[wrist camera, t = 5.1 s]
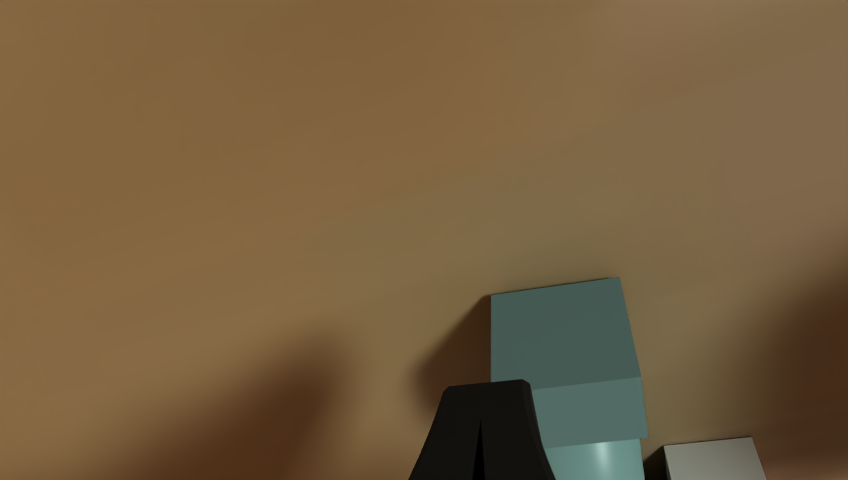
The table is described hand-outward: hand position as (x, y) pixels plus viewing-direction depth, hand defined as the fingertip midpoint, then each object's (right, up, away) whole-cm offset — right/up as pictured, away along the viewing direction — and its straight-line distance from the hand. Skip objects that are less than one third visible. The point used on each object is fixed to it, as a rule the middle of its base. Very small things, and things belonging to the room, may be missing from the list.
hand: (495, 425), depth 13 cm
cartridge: (+4, -4, +12) cm, 13 cm away
